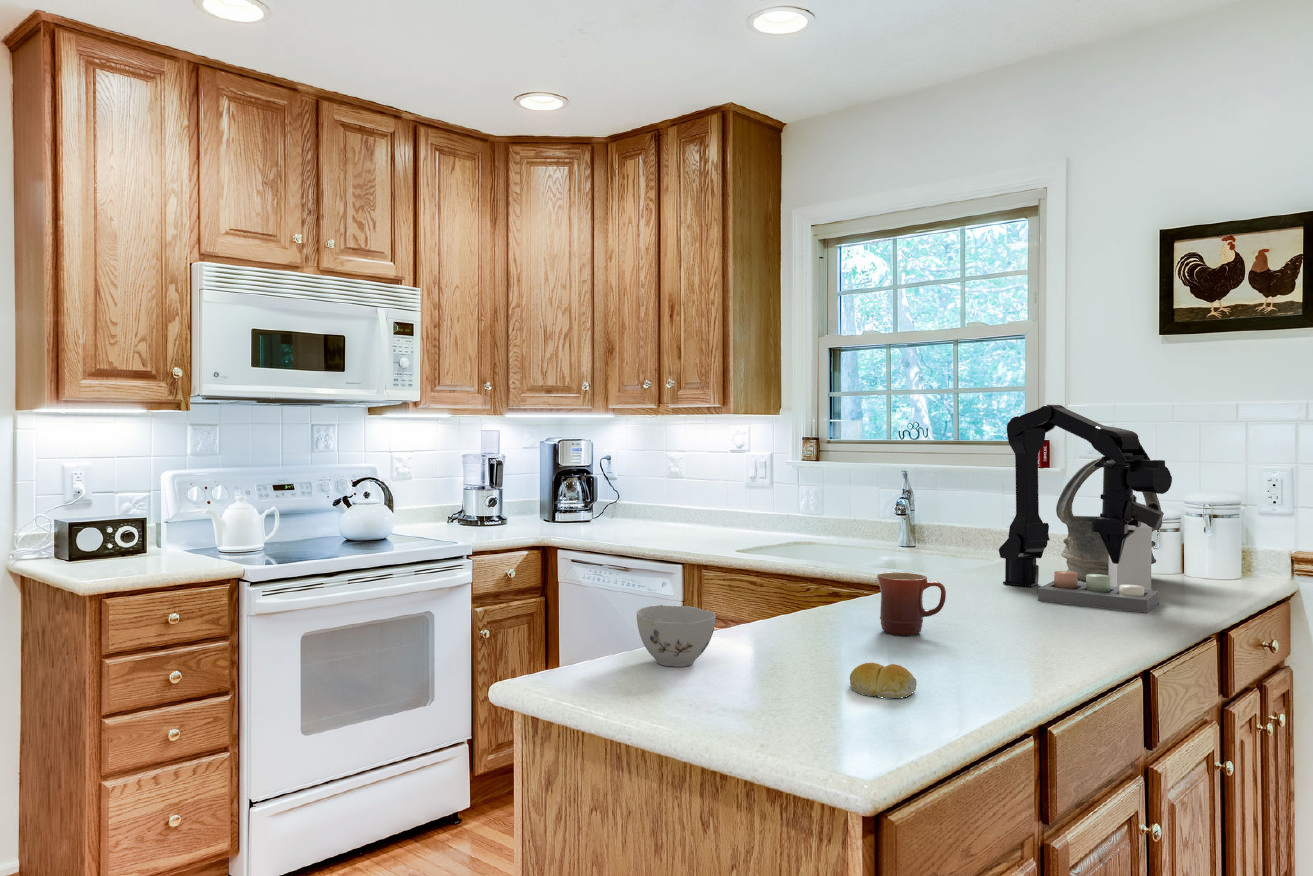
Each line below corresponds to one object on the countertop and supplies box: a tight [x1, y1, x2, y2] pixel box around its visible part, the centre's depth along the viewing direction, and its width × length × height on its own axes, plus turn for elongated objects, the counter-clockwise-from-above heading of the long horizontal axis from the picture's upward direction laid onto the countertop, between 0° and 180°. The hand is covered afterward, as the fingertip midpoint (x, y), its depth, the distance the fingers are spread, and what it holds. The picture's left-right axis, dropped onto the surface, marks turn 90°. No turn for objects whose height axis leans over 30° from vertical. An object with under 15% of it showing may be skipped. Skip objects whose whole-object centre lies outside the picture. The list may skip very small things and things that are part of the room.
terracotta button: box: [1053, 570, 1078, 588], centre depth 201 cm, size 5×5×3 cm
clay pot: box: [1055, 457, 1163, 582], centre depth 229 cm, size 22×23×30 cm
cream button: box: [1119, 585, 1144, 597], centre depth 193 cm, size 5×5×3 cm
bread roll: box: [849, 662, 917, 699], centre depth 130 cm, size 8×9×4 cm
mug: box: [876, 571, 947, 637], centre depth 166 cm, size 12×9×10 cm
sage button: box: [1085, 574, 1110, 592], centre depth 197 cm, size 5×5×3 cm
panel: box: [1037, 580, 1160, 614], centre depth 197 cm, size 21×13×3 cm, turn 52°
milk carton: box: [1108, 522, 1153, 590], centre depth 210 cm, size 7×7×19 cm
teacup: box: [636, 604, 717, 668], centre depth 146 cm, size 15×12×8 cm
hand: (1115, 563), depth 195 cm, fingers closed
